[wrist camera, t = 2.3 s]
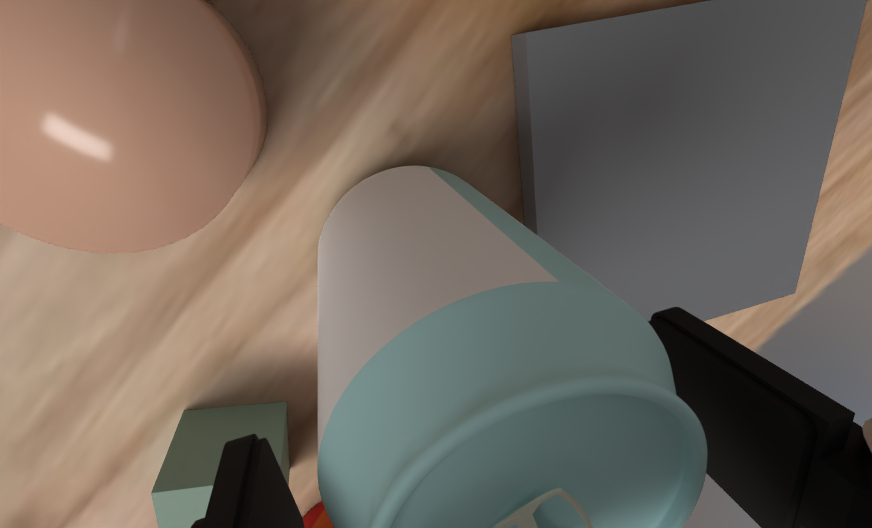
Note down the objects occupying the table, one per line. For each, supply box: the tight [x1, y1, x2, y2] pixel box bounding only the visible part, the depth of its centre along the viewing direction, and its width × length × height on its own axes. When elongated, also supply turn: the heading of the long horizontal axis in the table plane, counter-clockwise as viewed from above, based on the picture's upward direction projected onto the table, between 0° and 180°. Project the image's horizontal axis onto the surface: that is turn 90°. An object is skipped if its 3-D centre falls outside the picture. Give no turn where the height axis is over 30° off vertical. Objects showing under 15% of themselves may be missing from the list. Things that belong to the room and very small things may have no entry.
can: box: [318, 166, 707, 528], centre depth 12 cm, size 7×7×12 cm
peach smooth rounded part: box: [0, 0, 267, 254], centre depth 12 cm, size 7×7×4 cm
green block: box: [151, 402, 290, 528], centre depth 17 cm, size 4×4×4 cm
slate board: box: [511, 0, 867, 321], centre depth 19 cm, size 14×14×1 cm
